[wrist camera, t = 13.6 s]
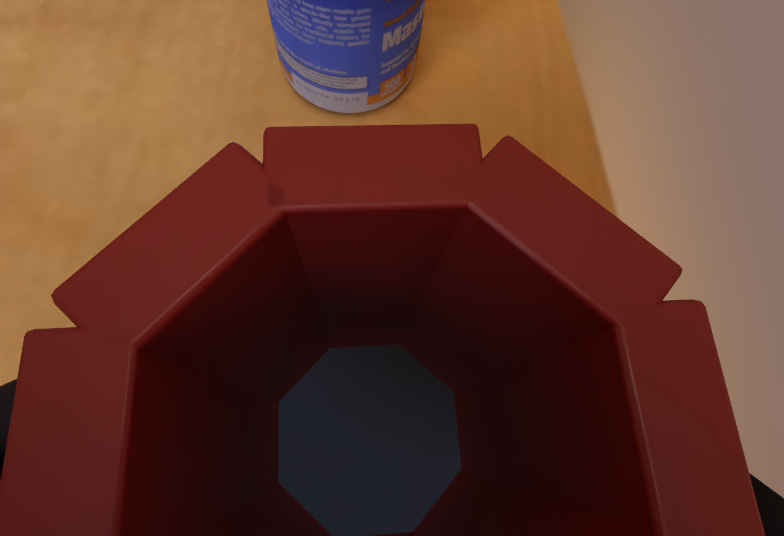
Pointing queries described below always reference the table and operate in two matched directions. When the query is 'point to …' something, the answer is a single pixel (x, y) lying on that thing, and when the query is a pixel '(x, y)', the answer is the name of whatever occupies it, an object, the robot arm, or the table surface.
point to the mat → (368, 440)
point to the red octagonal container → (376, 328)
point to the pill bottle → (347, 49)
